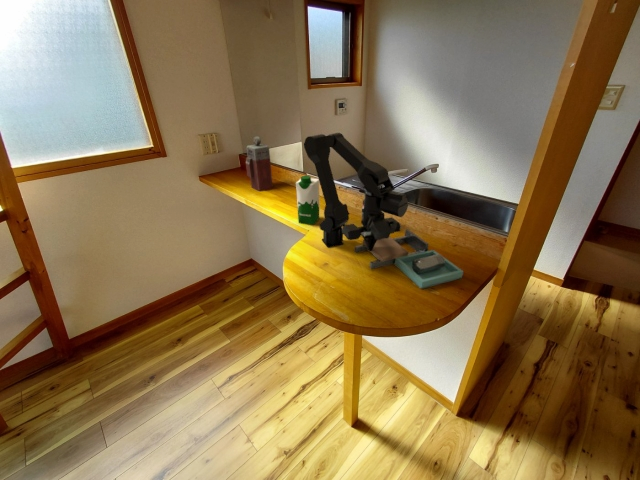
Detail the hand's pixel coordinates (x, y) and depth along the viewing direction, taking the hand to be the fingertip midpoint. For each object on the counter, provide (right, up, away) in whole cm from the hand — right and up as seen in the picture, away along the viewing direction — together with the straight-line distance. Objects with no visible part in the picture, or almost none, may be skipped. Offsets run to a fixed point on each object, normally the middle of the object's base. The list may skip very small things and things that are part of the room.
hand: (369, 250), depth 101 cm
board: (+5, -2, +3) cm, 7 cm away
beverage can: (+4, +10, +24) cm, 26 cm away
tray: (+17, -6, -6) cm, 19 cm away
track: (+7, -1, +4) cm, 8 cm away
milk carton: (-22, +12, +29) cm, 38 cm away
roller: (+17, -4, -7) cm, 19 cm away
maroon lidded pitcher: (-51, +33, +69) cm, 92 cm away
